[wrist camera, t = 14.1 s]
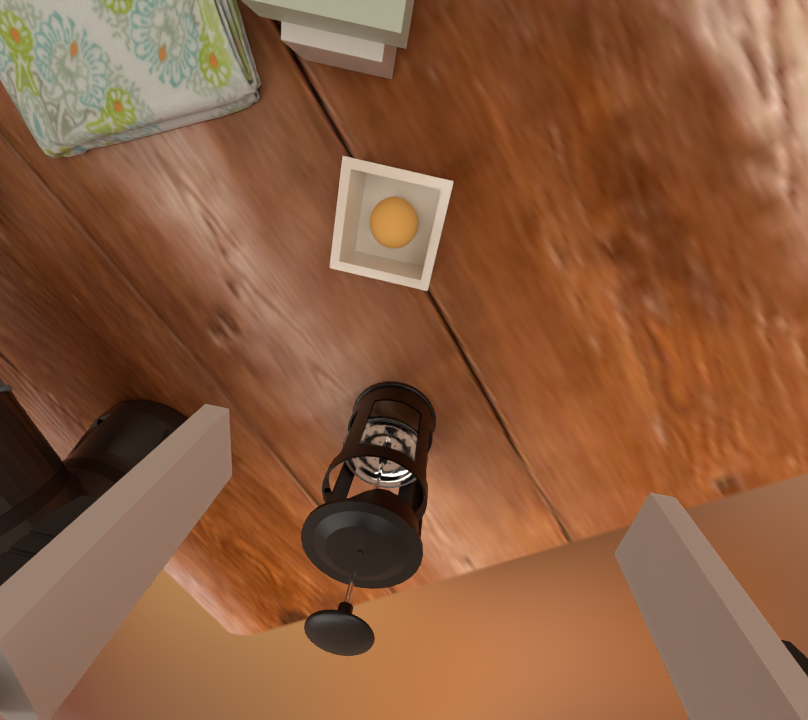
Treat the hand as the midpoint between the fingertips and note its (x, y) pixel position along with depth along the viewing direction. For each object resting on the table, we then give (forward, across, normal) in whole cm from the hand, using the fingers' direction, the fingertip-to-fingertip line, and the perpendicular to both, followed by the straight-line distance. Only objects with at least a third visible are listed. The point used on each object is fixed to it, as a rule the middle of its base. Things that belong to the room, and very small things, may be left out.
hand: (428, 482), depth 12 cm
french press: (+26, -2, -16) cm, 31 cm away
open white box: (+26, -5, +5) cm, 27 cm away
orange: (+26, -5, +5) cm, 26 cm away
